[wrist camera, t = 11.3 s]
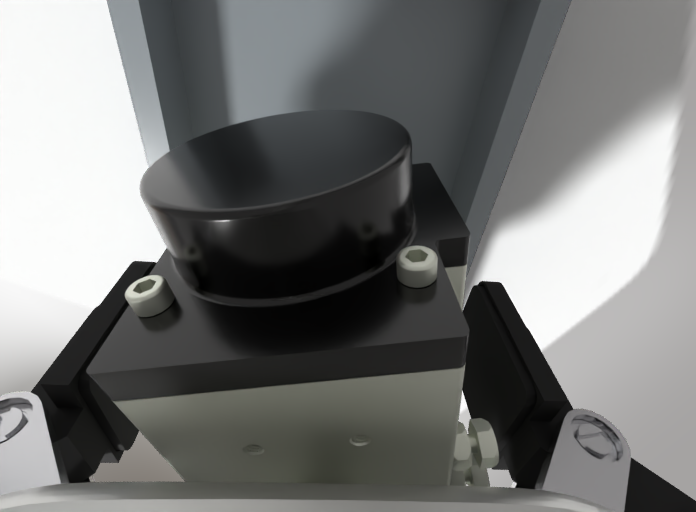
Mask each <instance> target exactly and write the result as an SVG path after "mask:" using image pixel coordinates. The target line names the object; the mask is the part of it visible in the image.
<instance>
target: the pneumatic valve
mask: <svg viewBox="0 0 696 512" xmlns="http://www.w3.org/2000/svg"><path fill="white" fill-rule="evenodd" d="M140 194H141V197H142V199H143V201H144V203H145V205H146V207H147V209H148V211H149V213H150V215H151V217H152V219H153V221H154V223H155V225H156V227H157V229H158V231H159V233H160V235H161V237H162V239H163V241H164V243H165V244H166V246H167V249H166V250H165V252H164V253H163V255H162V256H161V258H160V259H159V261H158V262H157V264H156V265H155V267H154V268H153V270H152V271H151V273H150V274H149V276H146V277H143V278H141V279H139V280H137V281H135V282H134V283H133V284H131V285H130V286H129V287H128V289H127V290H126V292H125V298H126V300H127V302H128V303H129V306H128V307H127V309H126V310H125V312H124V313H123V315H122V316H121V318H120V319H119V321H118V322H117V324H116V325H115V327H114V328H113V330H112V331H111V333H110V334H109V336H108V337H107V339H106V340H105V342H104V344H103V345H102V347H101V348H100V350H99V351H98V353H97V354H96V356H95V357H94V359H93V360H92V362H91V363H90V365H89V366H88V368H87V370H86V372H87V373H88V375H89V376H90V377H91V378H92V379H93V380H94V381H95V382H96V383H97V385H98V386H99V387H100V388H101V389H102V390H103V391H104V392H105V393H106V394H107V396H108V397H109V398H110V399H111V400H112V401H113V402H114V403H115V404H116V406H117V407H118V408H119V409H120V410H121V411H122V412H123V413H124V414H125V415H126V417H127V418H128V419H129V420H130V421H131V422H132V423H133V424H134V425H135V427H136V428H137V429H138V430H139V431H140V432H141V433H142V434H143V435H144V437H145V438H146V439H147V440H148V441H149V442H150V443H151V444H152V445H153V446H154V448H155V449H156V450H157V451H158V452H159V453H160V454H161V455H162V456H163V458H164V459H165V460H166V461H167V462H168V463H169V464H170V465H171V466H172V467H173V469H174V470H175V471H176V472H177V473H178V474H179V475H180V476H181V477H182V479H184V481H185V482H254V483H329V484H391V485H443V486H466V484H468V486H479V487H490V483H489V477H488V473H487V469H486V468H493V467H494V466H496V465H497V464H498V462H499V452H498V446H497V442H496V438H495V435H494V432H493V429H492V427H491V425H490V423H489V422H488V421H486V420H484V419H482V418H477V419H470V422H469V428H468V432H469V434H467V432H466V429H465V427H464V425H463V424H462V423H461V422H459V421H458V419H459V411H460V403H461V395H462V387H463V379H464V371H465V363H466V355H467V347H468V339H469V331H470V330H469V327H468V324H467V322H466V319H465V317H464V314H463V312H462V311H463V301H464V291H465V281H466V272H467V262H468V252H469V242H470V231H469V230H468V228H467V226H466V224H465V223H464V221H463V219H462V217H461V216H460V214H459V212H458V210H457V209H456V207H455V205H454V203H453V202H452V200H451V198H450V196H449V195H448V193H447V191H446V189H445V188H444V186H443V184H442V182H441V181H440V179H439V177H438V175H437V174H436V172H435V170H434V168H433V167H432V165H431V163H419V164H412V140H411V137H410V134H409V132H408V131H407V129H406V128H405V127H404V126H403V125H402V124H400V123H399V122H397V121H395V120H393V119H391V118H389V117H386V116H383V115H379V114H375V113H370V112H364V111H355V110H312V111H300V112H292V113H285V114H278V115H272V116H267V117H262V118H257V119H253V120H249V121H245V122H241V123H237V124H233V125H230V126H227V127H223V128H220V129H217V130H214V131H211V132H209V133H206V134H203V135H201V136H199V137H196V138H194V139H192V140H189V141H187V142H185V143H183V144H181V145H179V146H177V147H176V148H174V149H172V150H171V151H169V152H167V153H166V154H164V155H163V156H161V157H160V158H159V159H158V160H156V161H155V162H154V163H153V164H152V165H151V166H150V167H149V168H148V169H147V171H146V172H145V173H144V175H143V177H142V179H141V182H140Z"/></svg>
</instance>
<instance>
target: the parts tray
mask: <svg viewBox="0 0 696 512" xmlns="http://www.w3.org/2000/svg"><path fill="white" fill-rule="evenodd" d="M570 3H571V0H107V4H108V8H109V12H110V16H111V20H112V24H113V28H114V32H115V36H116V40H117V44H118V47H119V51H120V55H121V59H122V63H123V67H124V71H125V75H126V79H127V83H128V87H129V91H130V95H131V99H132V103H133V107H134V111H135V115H136V119H137V123H138V127H139V131H140V135H141V139H142V143H143V147H144V151H145V155H146V159H147V163H148V167H150V166H151V165H152V164H153V163H154V162H155V161H156V160H158V159H159V158H160V157H161V156H163V155H164V154H166V153H167V152H169V151H171V150H172V149H174V148H176V147H177V146H179V145H181V144H183V143H185V142H187V141H189V140H192V139H194V138H196V137H199V136H201V135H203V134H206V133H209V132H211V131H214V130H217V129H220V128H223V127H227V126H230V125H233V124H237V123H241V122H245V121H249V120H253V119H257V118H262V117H267V116H272V115H278V114H285V113H292V112H300V111H312V110H355V111H364V112H370V113H375V114H379V115H383V116H386V117H389V118H391V119H393V120H395V121H397V122H399V123H400V124H402V125H403V126H404V127H405V128H406V129H407V131H408V132H409V134H410V137H411V140H412V164H419V163H431V165H432V167H433V168H434V170H435V172H436V174H437V175H438V177H439V179H440V181H441V182H442V184H443V186H444V188H445V189H446V191H447V193H448V195H449V196H450V198H451V200H452V202H453V203H454V205H455V207H456V209H457V210H458V212H459V214H460V216H461V217H462V219H463V221H464V223H465V224H466V226H467V228H468V230H469V231H470V242H469V252H468V262H467V272H466V277H467V274H468V272H469V269H470V266H471V264H472V261H473V258H474V256H475V253H476V251H477V248H478V245H479V243H480V240H481V237H482V235H483V232H484V229H485V227H486V224H487V221H488V219H489V216H490V214H491V211H492V208H493V206H494V203H495V200H496V198H497V195H498V192H499V190H500V187H501V185H502V182H503V179H504V177H505V174H506V171H507V169H508V166H509V163H510V161H511V158H512V156H513V153H514V150H515V148H516V145H517V142H518V140H519V137H520V134H521V132H522V129H523V127H524V124H525V121H526V119H527V116H528V113H529V111H530V108H531V105H532V103H533V100H534V98H535V95H536V92H537V90H538V87H539V84H540V82H541V79H542V76H543V74H544V71H545V69H546V66H547V63H548V61H549V58H550V55H551V53H552V50H553V47H554V45H555V42H556V40H557V37H558V34H559V32H560V29H561V26H562V24H563V21H564V18H565V16H566V13H567V10H568V8H569V5H570Z"/></svg>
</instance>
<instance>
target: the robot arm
mask: <svg viewBox="0 0 696 512" xmlns="http://www.w3.org/2000/svg"><path fill="white" fill-rule="evenodd" d="M156 264H157V263H155V262H142V261H134V262H132V263H131V264H130V266H129V267H128V268H127V270H126V271H125V272H124V274H123V275H122V276H121V278H120V279H119V280H118V282H117V283H116V284H115V286H114V287H113V288H112V290H111V291H110V292H109V294H108V295H107V296H106V298H105V299H104V300H103V302H102V303H101V304H100V305H99V306H98V307H96V308H95V309H94V310H93V311H92V312H91V314H90V315H89V316H88V318H87V319H86V320H85V322H84V323H83V324H82V326H81V327H80V328H79V329H78V331H77V332H76V334H75V335H74V336H73V337H72V339H71V340H70V341H69V343H68V344H67V345H66V347H65V348H64V349H63V351H62V352H61V353H60V354H59V356H58V357H57V358H56V360H55V361H54V362H53V364H52V365H51V366H50V368H49V369H48V370H47V371H46V373H45V374H44V375H43V377H42V378H41V379H40V381H39V382H38V383H37V385H36V386H35V387H34V389H33V390H32V391H31V392H24V391H19V392H12V393H7V394H4V395H1V396H0V512H696V501H695V500H693V499H692V498H690V497H689V496H688V495H686V494H684V493H683V492H682V491H680V490H679V489H677V488H676V487H674V486H673V485H671V484H670V483H668V482H667V481H665V480H664V479H662V478H661V477H659V476H658V475H656V474H655V473H653V472H652V471H650V470H649V469H647V468H646V467H644V466H643V465H641V464H640V463H638V462H637V461H635V460H634V459H632V458H631V454H630V448H629V445H628V443H627V441H626V439H625V438H624V437H623V435H622V433H621V432H620V431H619V430H618V429H617V428H616V427H615V426H614V425H613V424H612V423H611V422H610V421H608V420H607V419H606V418H604V417H603V416H601V415H599V414H596V413H595V412H593V411H589V410H585V409H573V408H572V406H571V404H570V402H569V400H568V399H567V397H566V395H565V393H564V392H563V390H562V388H561V386H560V385H559V383H558V381H557V379H556V377H555V375H554V374H553V372H552V370H551V368H550V367H549V365H548V363H547V361H546V359H545V358H544V356H543V354H542V352H541V350H540V349H539V347H538V345H537V343H536V342H535V340H534V338H533V336H532V334H531V333H530V331H529V330H528V328H527V327H526V326H525V324H524V322H523V321H522V319H521V317H520V315H519V314H518V312H517V310H516V308H515V306H514V305H513V303H512V301H511V299H510V297H509V296H508V294H507V292H506V290H505V288H504V287H503V285H502V284H501V283H500V282H487V281H481V282H480V283H479V284H478V286H477V285H475V286H473V288H472V290H471V293H470V295H469V297H468V300H467V302H466V305H465V307H464V310H463V314H464V317H465V319H466V322H467V324H468V327H469V330H470V331H469V339H468V347H467V355H466V363H465V371H464V379H463V387H462V390H463V393H464V396H465V400H466V403H467V406H468V409H469V413H470V415H471V419H477V418H482V419H484V420H486V421H488V422H489V423H490V425H491V427H492V429H493V432H494V435H495V438H496V442H497V446H498V452H499V462H498V464H497V465H496V466H494V467H493V468H492V469H498V470H499V469H500V470H509V473H510V475H511V478H512V480H513V483H512V485H511V488H504V487H479V486H443V485H391V484H329V483H254V482H95V480H94V477H93V474H94V473H95V472H96V470H97V468H98V466H99V464H100V463H119V460H120V458H121V456H122V454H123V452H124V450H129V449H130V448H131V446H132V445H133V443H134V441H135V439H136V436H137V434H138V432H139V430H138V429H137V428H136V427H135V425H134V424H133V423H132V422H131V421H130V420H129V419H128V418H127V417H126V415H125V414H124V413H123V412H122V411H121V410H120V409H119V408H118V407H117V406H116V404H115V403H114V402H113V401H112V400H111V399H110V398H109V397H108V396H107V394H106V393H105V392H104V391H103V390H102V389H101V388H100V387H99V386H98V385H97V383H96V382H95V381H94V380H93V379H92V378H91V377H90V376H89V375H88V373H87V372H86V370H87V368H88V366H89V365H90V363H91V362H92V360H93V359H94V357H95V356H96V354H97V353H98V351H99V350H100V348H101V347H102V345H103V344H104V342H105V340H106V339H107V337H108V336H109V334H110V333H111V331H112V330H113V328H114V327H115V325H116V324H117V322H118V321H119V319H120V318H121V316H122V315H123V313H124V312H125V310H126V309H127V307H128V306H129V303H128V302H127V300H126V298H125V292H126V290H127V289H128V287H129V286H130V285H131V284H133V283H134V282H135V281H137V280H139V279H141V278H143V277H146V276H149V274H150V273H151V271H152V270H153V268H154V267H155V265H156Z"/></svg>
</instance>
